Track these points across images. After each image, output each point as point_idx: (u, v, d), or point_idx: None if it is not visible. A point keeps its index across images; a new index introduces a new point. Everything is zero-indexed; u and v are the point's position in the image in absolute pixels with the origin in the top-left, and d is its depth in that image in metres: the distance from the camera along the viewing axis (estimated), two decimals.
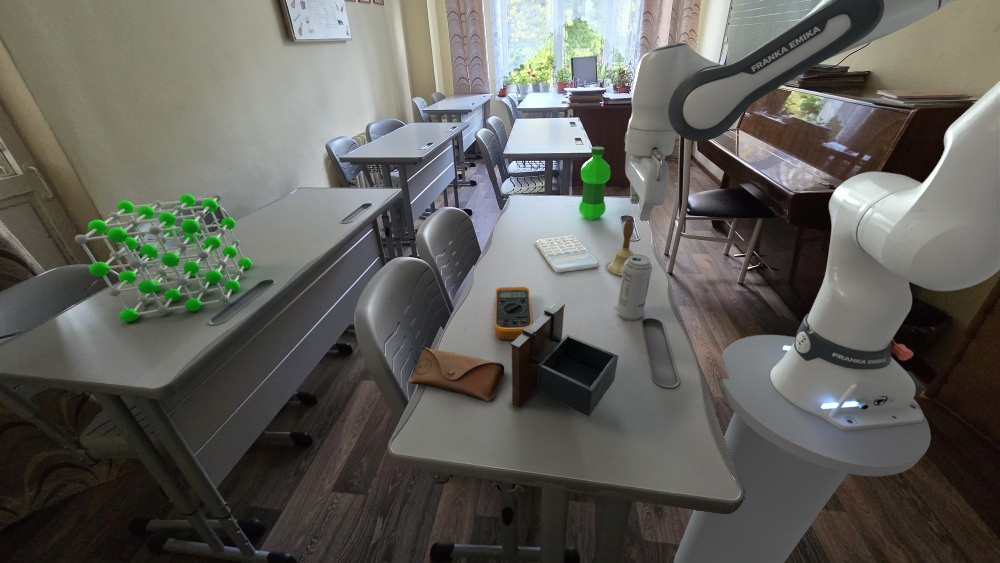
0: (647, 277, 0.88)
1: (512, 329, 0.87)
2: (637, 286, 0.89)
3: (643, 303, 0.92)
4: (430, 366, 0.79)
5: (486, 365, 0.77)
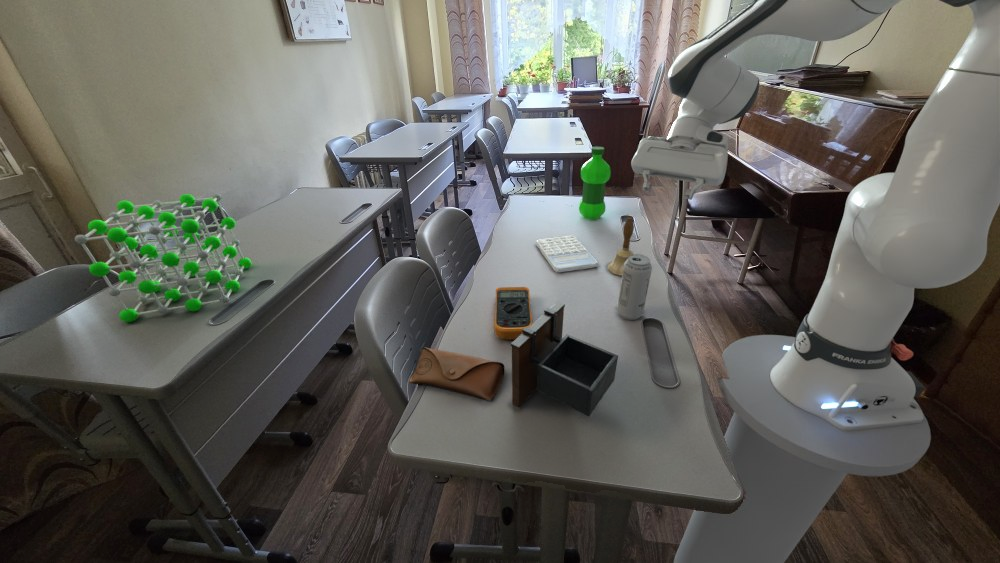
0: (647, 277, 0.88)
1: (512, 329, 0.87)
2: (637, 286, 0.89)
3: (643, 303, 0.92)
4: (430, 366, 0.79)
5: (486, 364, 0.78)
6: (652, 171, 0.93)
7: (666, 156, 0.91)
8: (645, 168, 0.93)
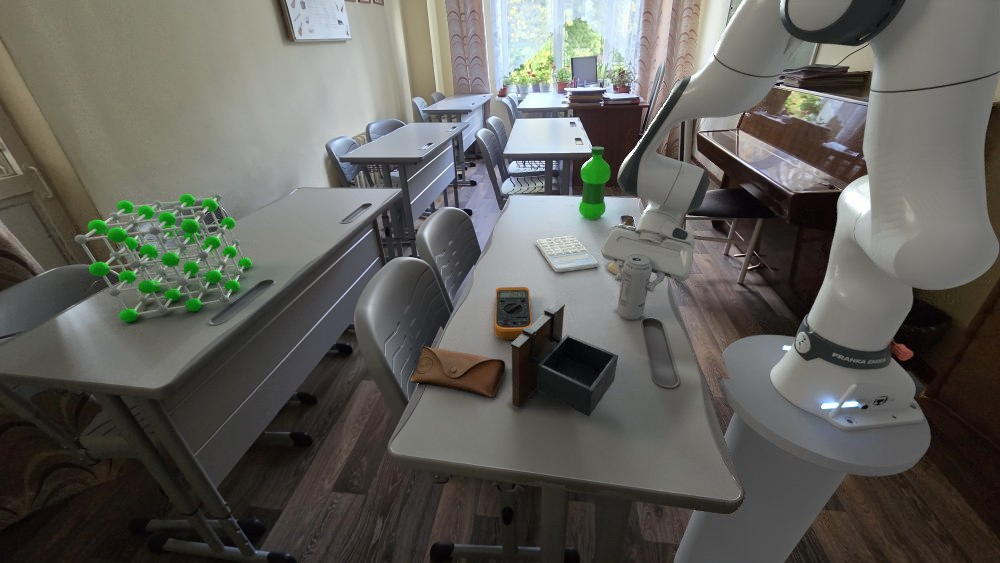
0: (647, 277, 0.88)
1: (512, 329, 0.87)
2: (637, 286, 0.89)
3: (643, 303, 0.92)
4: (431, 365, 0.79)
5: (487, 362, 0.78)
6: (625, 261, 0.94)
7: (634, 247, 0.92)
8: (614, 258, 0.94)
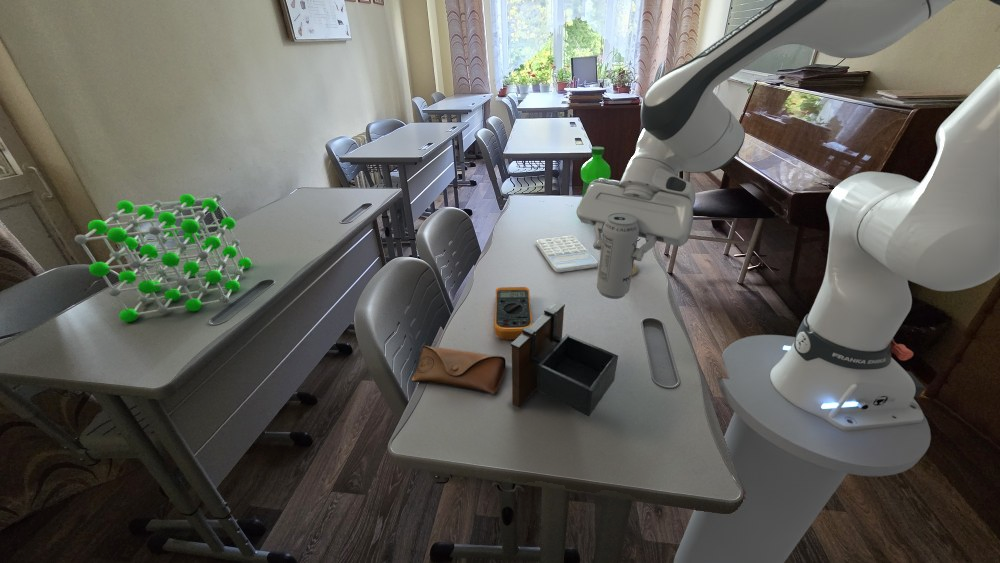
0: (633, 241, 0.67)
1: (512, 329, 0.87)
2: (621, 253, 0.68)
3: (629, 277, 0.72)
4: (432, 364, 0.79)
5: (488, 359, 0.79)
6: None
7: (617, 205, 0.72)
8: (592, 219, 0.74)
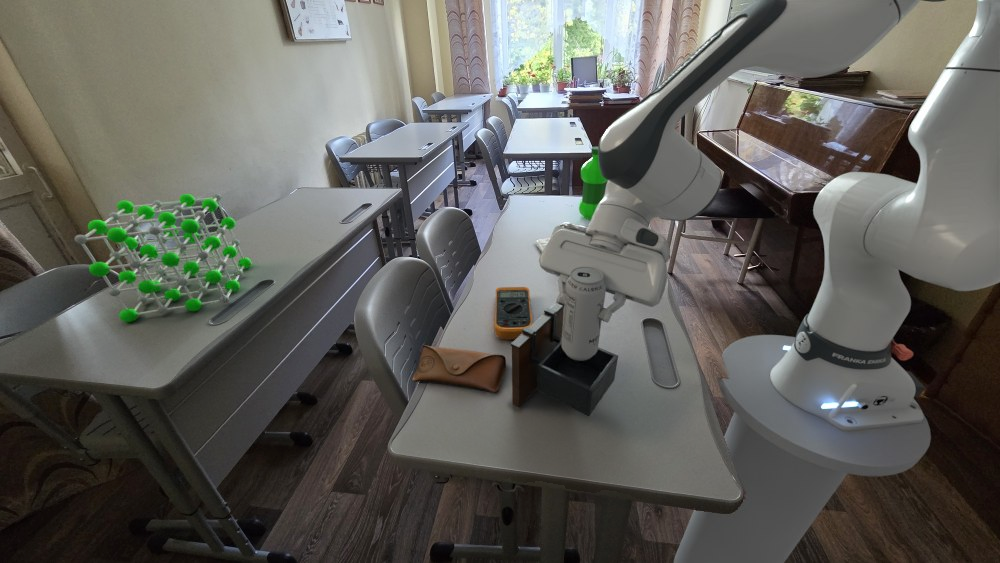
0: (598, 301, 0.59)
1: (512, 329, 0.87)
2: (585, 314, 0.60)
3: (596, 337, 0.63)
4: (433, 363, 0.80)
5: (489, 358, 0.79)
6: None
7: (583, 256, 0.64)
8: (555, 271, 0.65)
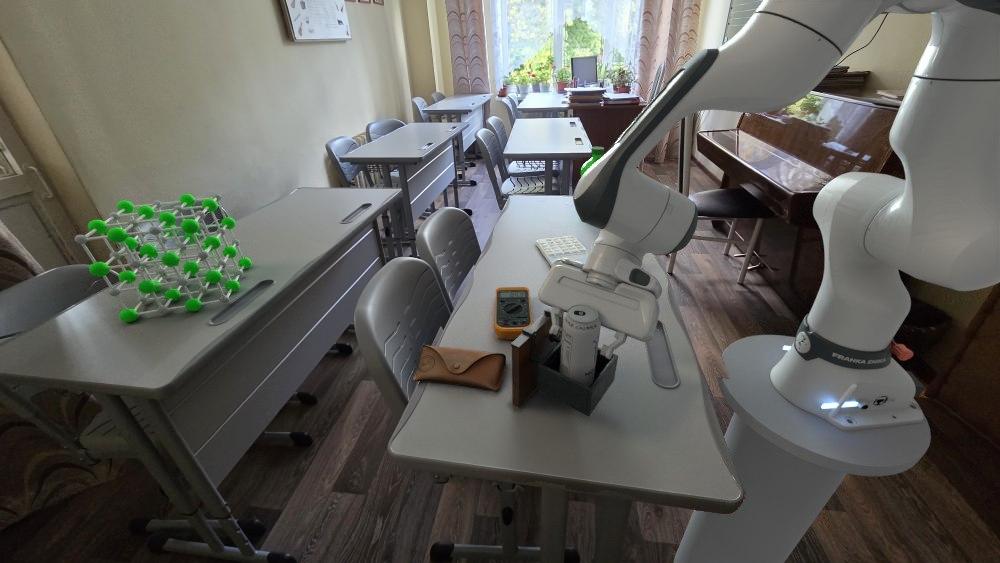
0: (593, 338, 0.63)
1: (512, 329, 0.87)
2: (581, 350, 0.64)
3: (591, 370, 0.67)
4: (433, 363, 0.80)
5: (489, 356, 0.79)
6: None
7: (579, 293, 0.67)
8: (554, 306, 0.69)
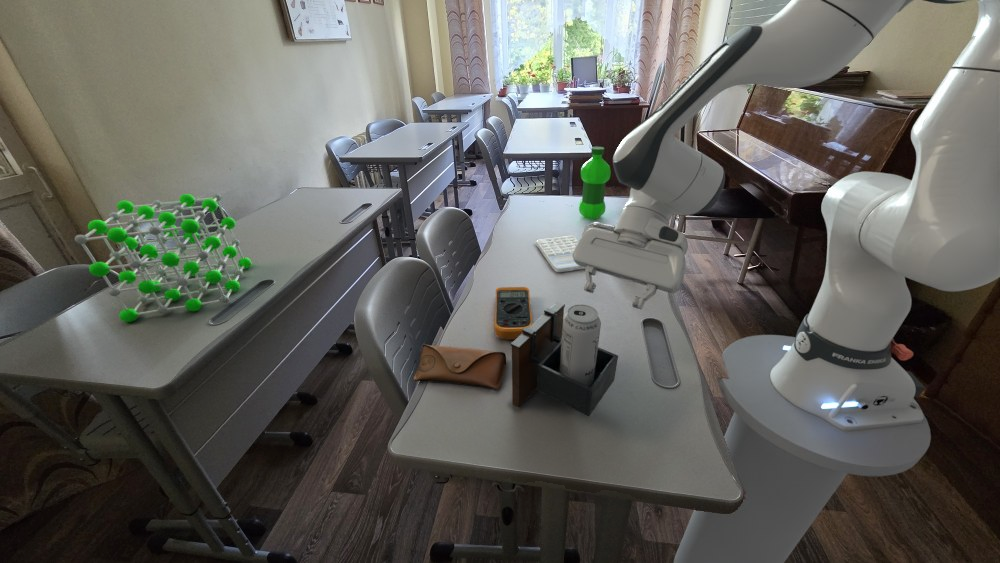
0: (593, 338, 0.63)
1: (512, 329, 0.87)
2: (581, 350, 0.64)
3: (591, 370, 0.67)
4: (433, 362, 0.80)
5: (489, 355, 0.80)
6: (597, 267, 0.76)
7: (612, 251, 0.74)
8: (588, 264, 0.76)
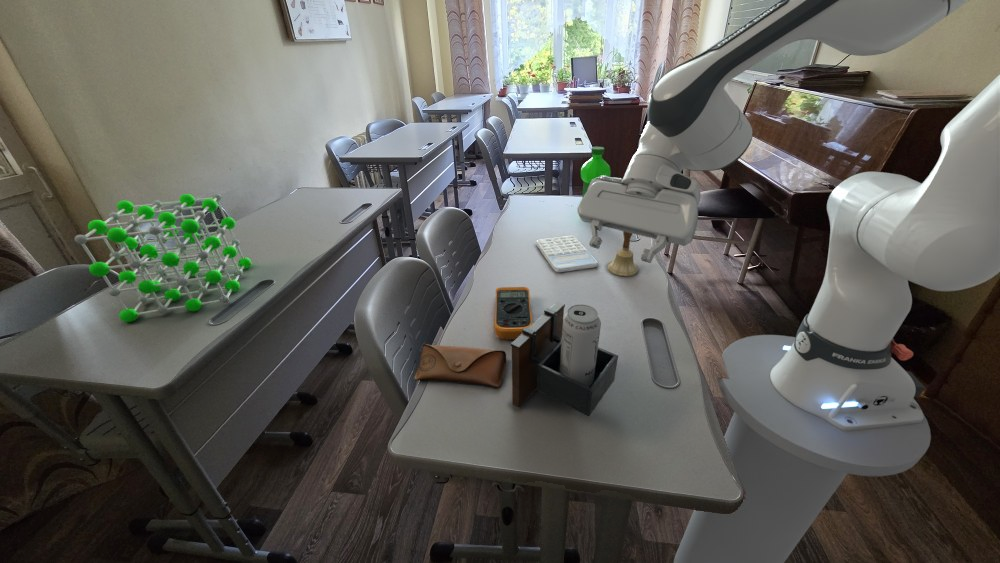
0: (593, 338, 0.63)
1: (512, 329, 0.87)
2: (581, 350, 0.64)
3: (591, 370, 0.67)
4: (434, 362, 0.80)
5: (490, 354, 0.80)
6: (603, 222, 0.72)
7: (619, 203, 0.70)
8: (594, 218, 0.72)
